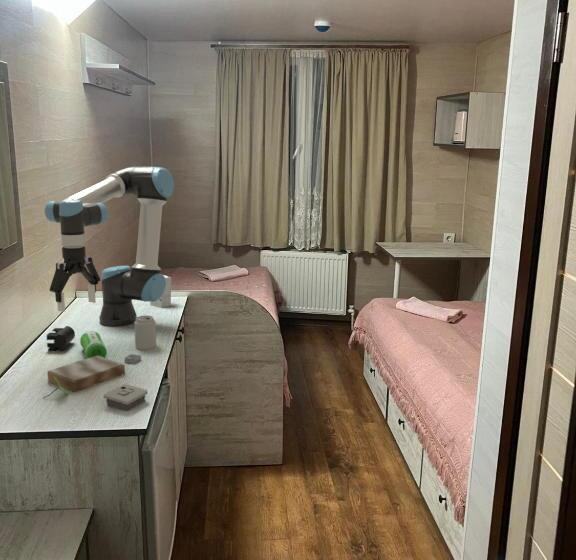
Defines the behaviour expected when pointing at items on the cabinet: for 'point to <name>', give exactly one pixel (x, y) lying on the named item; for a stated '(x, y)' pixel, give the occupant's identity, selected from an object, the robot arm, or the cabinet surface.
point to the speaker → (93, 344)
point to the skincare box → (164, 295)
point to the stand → (86, 373)
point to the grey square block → (132, 358)
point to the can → (145, 333)
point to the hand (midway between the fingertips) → (77, 306)
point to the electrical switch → (125, 397)
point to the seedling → (59, 387)
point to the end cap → (60, 338)
